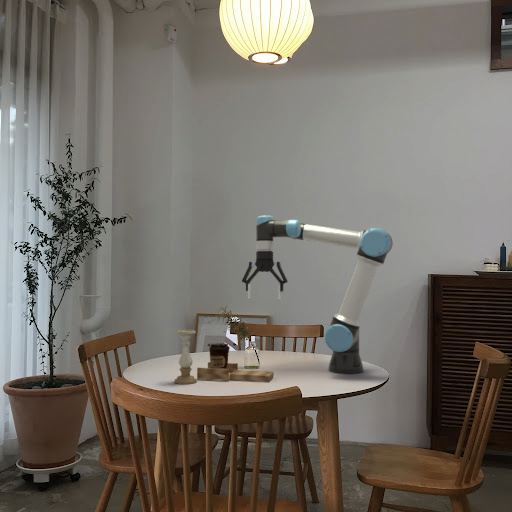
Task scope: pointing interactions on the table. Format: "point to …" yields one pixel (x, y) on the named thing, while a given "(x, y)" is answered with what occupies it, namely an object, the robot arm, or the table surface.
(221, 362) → the coffee cup
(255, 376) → the wooden stepped block
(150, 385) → the table surface
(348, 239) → the robot arm
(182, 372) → the candle holder
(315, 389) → the table surface
